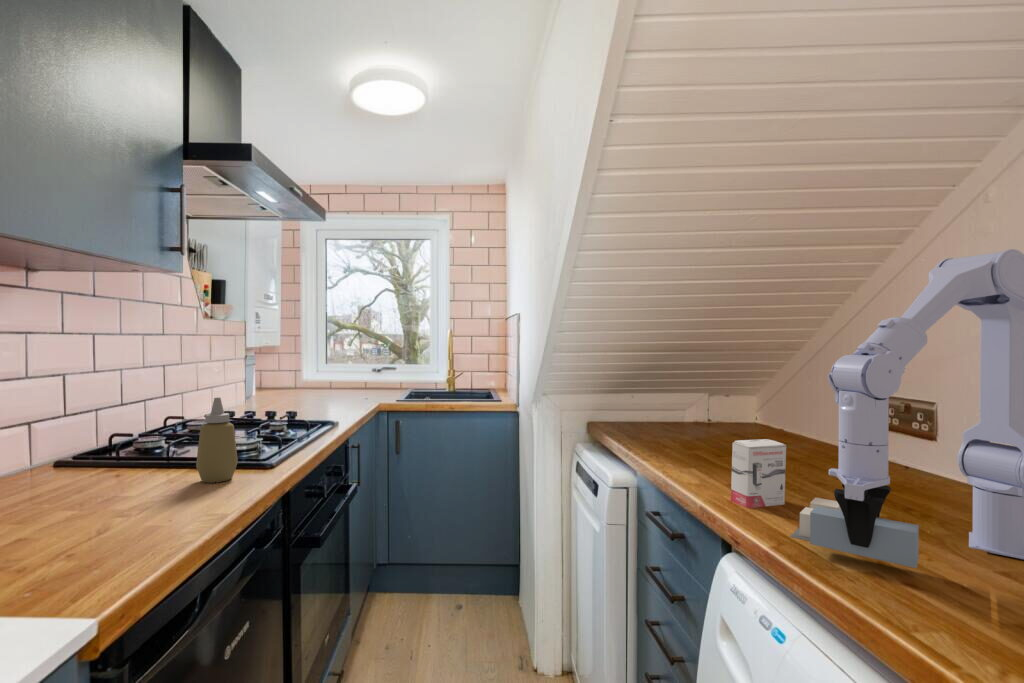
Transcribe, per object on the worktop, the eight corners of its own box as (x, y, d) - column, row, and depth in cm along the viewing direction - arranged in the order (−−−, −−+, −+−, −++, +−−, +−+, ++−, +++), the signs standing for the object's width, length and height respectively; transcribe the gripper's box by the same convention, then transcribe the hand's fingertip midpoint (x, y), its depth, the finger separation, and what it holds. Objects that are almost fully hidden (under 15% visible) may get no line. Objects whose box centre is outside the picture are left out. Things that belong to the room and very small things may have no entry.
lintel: (816, 536, 78) (816, 506, 78) (918, 558, 70) (918, 525, 70) (810, 544, 75) (810, 512, 75) (916, 568, 67) (916, 532, 67)
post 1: (834, 534, 83) (834, 512, 83) (828, 541, 80) (828, 518, 80) (805, 528, 86) (805, 507, 86) (799, 535, 83) (799, 513, 83)
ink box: (748, 511, 96) (748, 445, 96) (729, 502, 100) (730, 440, 100) (787, 506, 98) (787, 443, 98) (767, 499, 103) (767, 438, 103)
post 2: (842, 523, 88) (842, 502, 88) (837, 529, 85) (837, 507, 85) (815, 517, 91) (815, 497, 91) (809, 523, 88) (810, 502, 88)
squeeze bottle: (201, 476, 118) (201, 396, 118) (241, 474, 120) (241, 395, 120) (191, 486, 110) (191, 400, 110) (234, 483, 113) (234, 399, 113)
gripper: (839, 431, 81) (838, 520, 81) (818, 445, 70) (817, 548, 70) (896, 437, 76) (895, 531, 76) (883, 453, 65) (882, 563, 65)
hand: (862, 540), depth 72 cm, fingers closed on lintel, 4 cm apart
